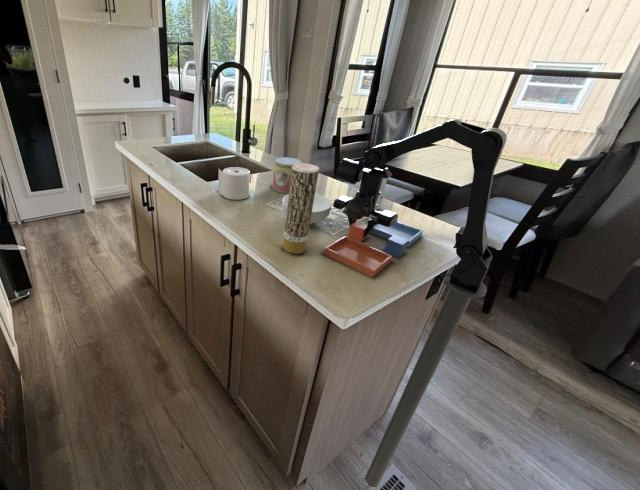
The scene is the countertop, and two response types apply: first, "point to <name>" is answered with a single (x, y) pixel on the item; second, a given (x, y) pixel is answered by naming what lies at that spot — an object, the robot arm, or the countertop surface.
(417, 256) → the countertop surface
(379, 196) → the cosmetic box
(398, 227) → the blue tray
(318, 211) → the cereal bowl
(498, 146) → the robot arm
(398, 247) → the blue block
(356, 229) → the clay block
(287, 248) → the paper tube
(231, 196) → the toilet tissue
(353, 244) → the clay tray
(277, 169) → the canned food
